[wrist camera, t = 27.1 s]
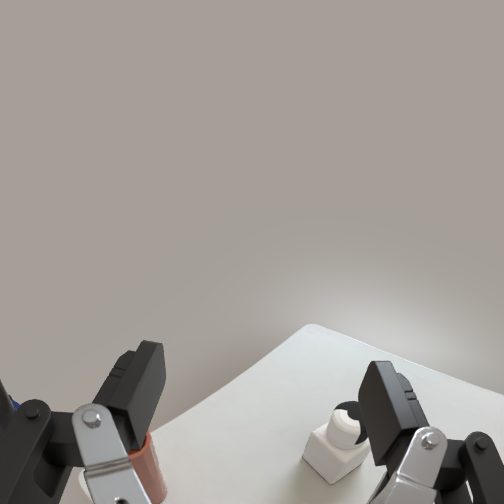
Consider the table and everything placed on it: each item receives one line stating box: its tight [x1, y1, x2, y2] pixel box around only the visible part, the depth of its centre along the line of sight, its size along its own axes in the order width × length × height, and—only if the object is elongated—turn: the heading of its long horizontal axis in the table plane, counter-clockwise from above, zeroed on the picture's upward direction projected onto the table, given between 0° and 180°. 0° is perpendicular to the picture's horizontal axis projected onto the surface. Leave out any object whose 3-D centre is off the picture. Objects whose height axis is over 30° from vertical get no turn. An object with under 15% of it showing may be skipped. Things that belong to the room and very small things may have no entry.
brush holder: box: [128, 430, 167, 504], centre depth 28 cm, size 6×6×14 cm
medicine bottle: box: [302, 401, 371, 485], centre depth 36 cm, size 7×7×12 cm
